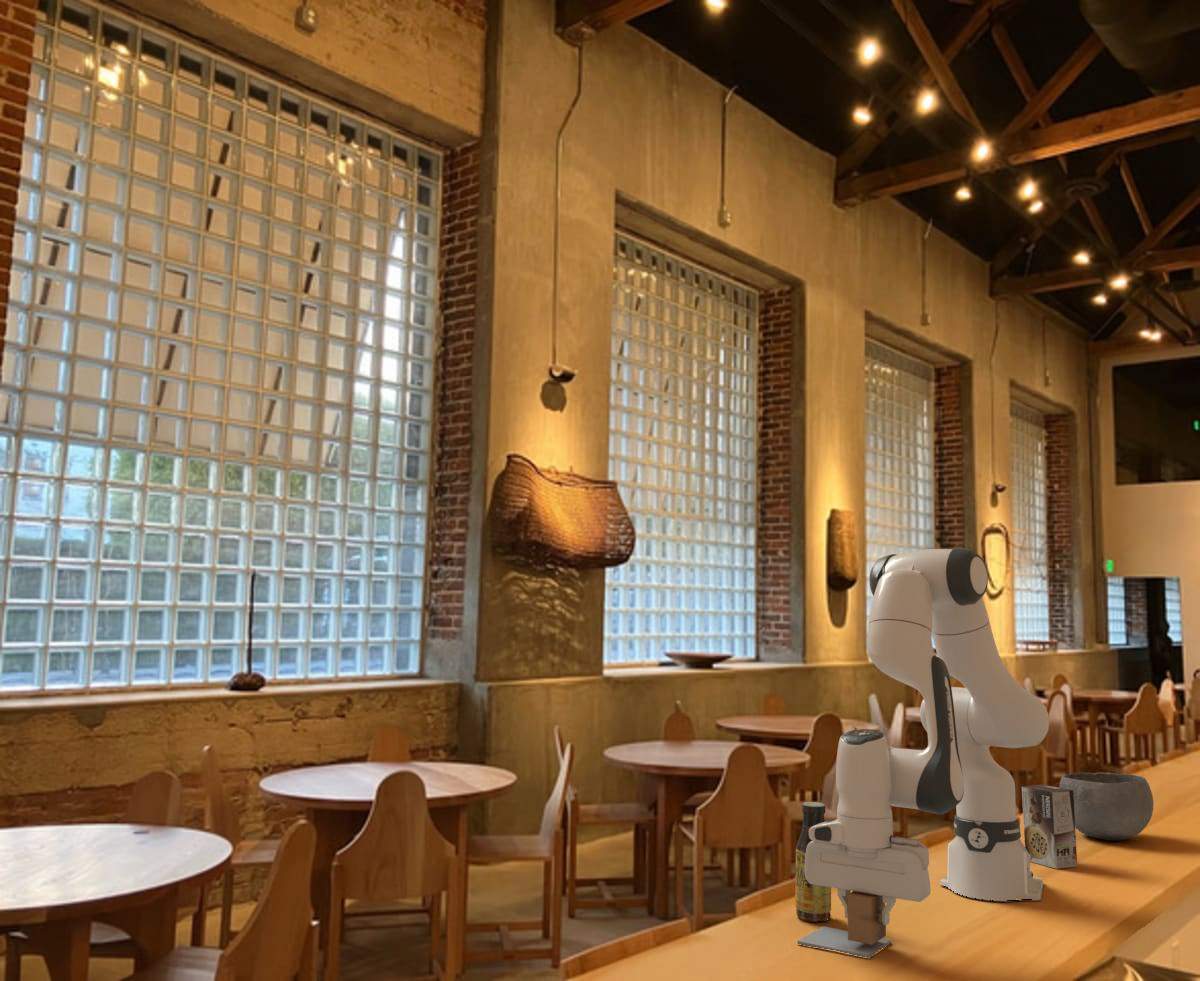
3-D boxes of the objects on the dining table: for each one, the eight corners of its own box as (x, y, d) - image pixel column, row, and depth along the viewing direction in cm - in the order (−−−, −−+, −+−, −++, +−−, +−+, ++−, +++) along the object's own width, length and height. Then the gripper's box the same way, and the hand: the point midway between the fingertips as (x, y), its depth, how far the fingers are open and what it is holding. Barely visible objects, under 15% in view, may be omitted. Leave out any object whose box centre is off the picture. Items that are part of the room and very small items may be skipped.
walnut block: (862, 931, 170) (861, 886, 171) (886, 935, 168) (884, 890, 169) (848, 940, 165) (847, 894, 166) (872, 944, 163) (871, 898, 164)
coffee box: (1079, 867, 222) (1075, 789, 224) (1055, 869, 219) (1052, 791, 221) (1046, 857, 230) (1042, 783, 232) (1023, 860, 228) (1020, 785, 230)
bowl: (1134, 830, 260) (1131, 769, 262) (1171, 848, 240) (1167, 782, 242) (1049, 828, 262) (1047, 768, 264) (1078, 846, 242) (1075, 780, 244)
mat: (822, 930, 176) (822, 926, 176) (891, 943, 169) (891, 939, 169) (797, 944, 168) (797, 941, 168) (868, 959, 161) (868, 955, 161)
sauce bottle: (789, 915, 185) (787, 801, 187) (819, 912, 187) (816, 799, 189) (808, 925, 179) (806, 807, 181) (839, 922, 181) (837, 805, 183)
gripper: (934, 837, 165) (937, 927, 163) (815, 822, 177) (817, 906, 175) (921, 844, 160) (924, 937, 158) (799, 827, 172) (801, 914, 170)
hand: (866, 920), depth 167 cm, fingers closed on walnut block, 4 cm apart
